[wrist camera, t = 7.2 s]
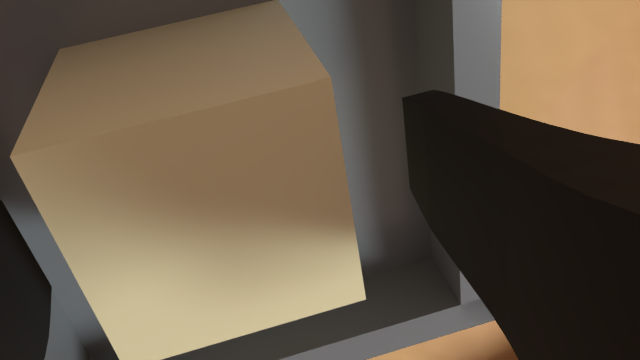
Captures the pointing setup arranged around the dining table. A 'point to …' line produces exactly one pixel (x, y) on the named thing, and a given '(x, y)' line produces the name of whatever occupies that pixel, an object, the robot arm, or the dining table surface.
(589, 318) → the robot arm
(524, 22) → the dining table surface
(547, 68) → the dining table surface
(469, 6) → the slate tray
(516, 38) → the dining table surface
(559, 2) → the dining table surface
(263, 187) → the cheese cube
